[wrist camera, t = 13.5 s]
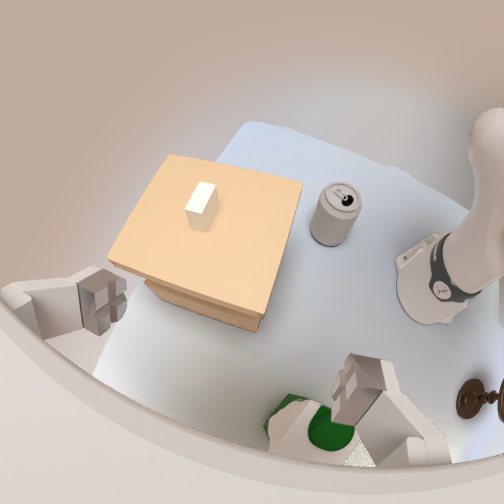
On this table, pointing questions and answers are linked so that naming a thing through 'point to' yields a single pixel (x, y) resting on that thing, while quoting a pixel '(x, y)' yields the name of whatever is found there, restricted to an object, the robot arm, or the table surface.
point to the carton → (204, 307)
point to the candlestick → (477, 399)
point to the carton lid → (210, 232)
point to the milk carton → (309, 432)
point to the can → (335, 213)
